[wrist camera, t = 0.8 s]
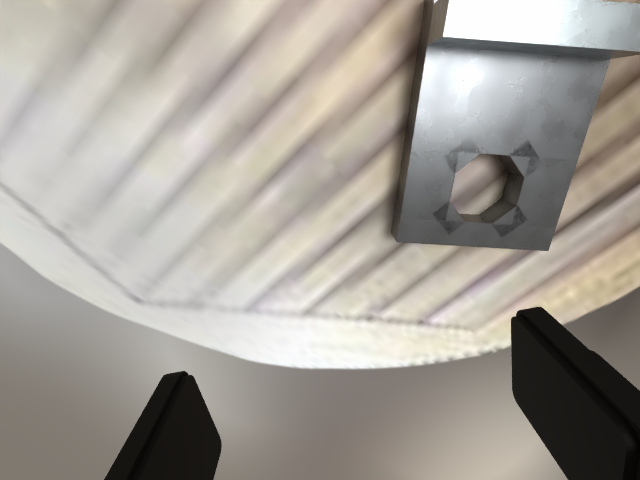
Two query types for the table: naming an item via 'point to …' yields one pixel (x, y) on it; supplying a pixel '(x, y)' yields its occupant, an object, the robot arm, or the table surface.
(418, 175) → the jig
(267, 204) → the table surface
